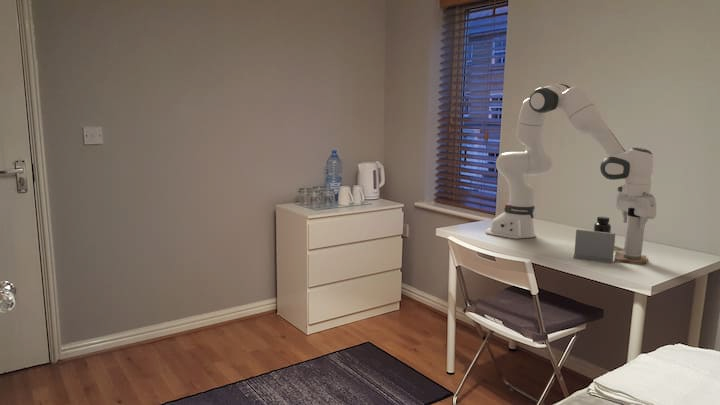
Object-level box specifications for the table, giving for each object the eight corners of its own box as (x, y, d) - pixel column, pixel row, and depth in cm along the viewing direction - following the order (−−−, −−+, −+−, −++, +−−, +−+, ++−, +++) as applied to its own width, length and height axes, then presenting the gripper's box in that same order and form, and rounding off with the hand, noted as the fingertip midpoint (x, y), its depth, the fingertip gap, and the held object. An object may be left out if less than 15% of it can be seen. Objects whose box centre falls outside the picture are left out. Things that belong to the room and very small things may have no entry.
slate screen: (573, 258, 209) (575, 231, 207) (574, 255, 212) (576, 229, 210) (612, 263, 202) (614, 235, 201) (612, 260, 206) (615, 233, 204)
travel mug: (619, 256, 208) (624, 206, 205) (629, 254, 212) (634, 205, 208) (634, 260, 203) (640, 209, 200) (644, 257, 207) (649, 207, 203)
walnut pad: (614, 261, 205) (614, 258, 205) (615, 254, 215) (615, 252, 215) (646, 265, 200) (646, 262, 200) (646, 258, 210) (646, 255, 210)
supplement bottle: (611, 246, 228) (613, 219, 225) (594, 245, 229) (596, 218, 227) (607, 242, 234) (609, 216, 232) (590, 241, 236) (593, 215, 233)
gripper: (663, 194, 193) (658, 231, 196) (629, 186, 213) (625, 219, 216) (646, 195, 193) (642, 231, 195) (614, 186, 213) (611, 219, 215)
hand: (633, 225), depth 206 cm, fingers open, 8 cm apart
